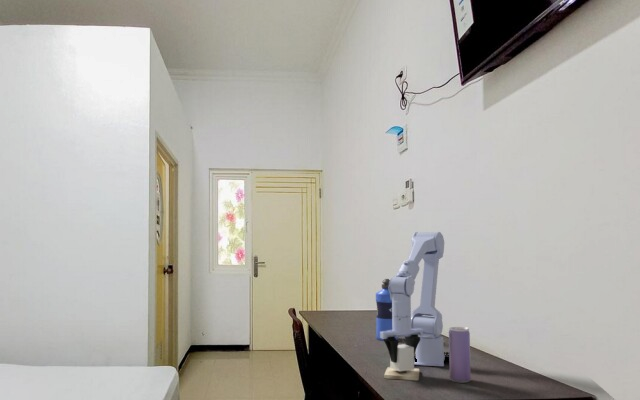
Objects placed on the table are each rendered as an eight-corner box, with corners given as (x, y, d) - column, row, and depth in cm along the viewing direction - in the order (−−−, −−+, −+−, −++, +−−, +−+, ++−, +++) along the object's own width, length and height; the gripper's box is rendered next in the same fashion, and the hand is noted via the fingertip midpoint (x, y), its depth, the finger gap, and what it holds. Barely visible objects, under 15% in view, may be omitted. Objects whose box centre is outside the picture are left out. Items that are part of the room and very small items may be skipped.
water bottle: (402, 338, 210) (401, 278, 212) (392, 342, 202) (392, 280, 204) (381, 336, 215) (381, 277, 217) (372, 339, 207) (371, 279, 209)
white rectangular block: (404, 365, 156) (404, 344, 156) (414, 369, 151) (413, 347, 152) (390, 367, 154) (390, 345, 154) (399, 371, 149) (399, 348, 150)
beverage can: (467, 384, 142) (466, 331, 144) (447, 381, 145) (446, 329, 147) (473, 379, 147) (471, 327, 149) (453, 376, 150) (452, 326, 152)
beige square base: (419, 371, 156) (419, 352, 156) (418, 380, 146) (418, 359, 147) (387, 370, 158) (387, 350, 159) (384, 378, 148) (384, 357, 149)
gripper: (413, 312, 160) (414, 356, 159) (374, 315, 154) (375, 360, 153) (426, 315, 154) (427, 360, 153) (386, 318, 148) (387, 365, 147)
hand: (402, 360), depth 153 cm, fingers open, 5 cm apart
